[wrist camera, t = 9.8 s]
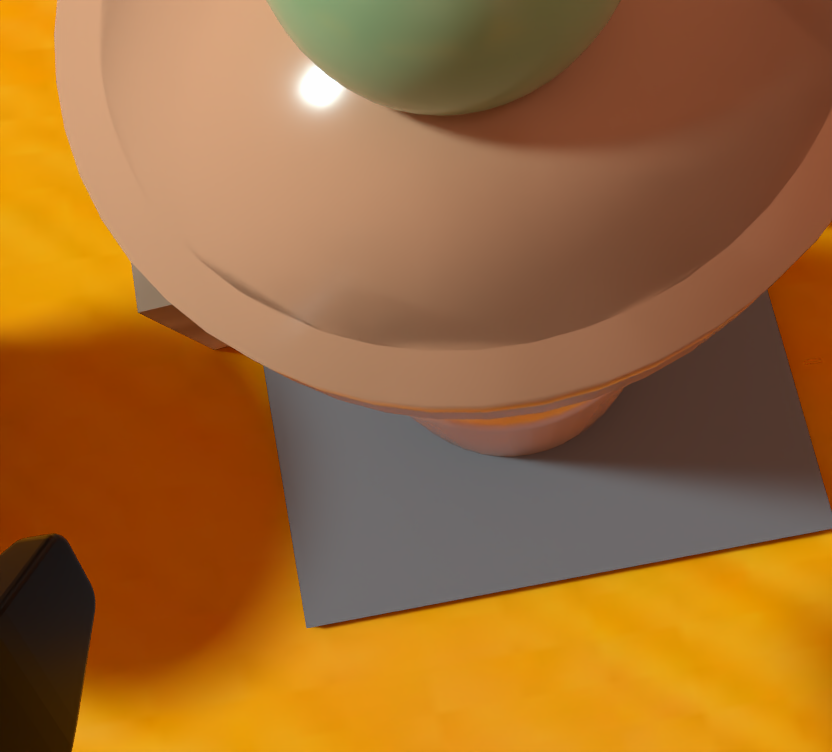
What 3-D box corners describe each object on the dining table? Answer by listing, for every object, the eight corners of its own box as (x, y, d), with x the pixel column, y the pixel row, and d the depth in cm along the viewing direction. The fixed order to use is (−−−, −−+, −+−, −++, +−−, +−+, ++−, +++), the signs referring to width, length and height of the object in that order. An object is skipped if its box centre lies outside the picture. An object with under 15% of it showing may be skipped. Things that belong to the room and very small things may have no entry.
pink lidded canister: (710, 287, 18) (1444, -605, 4) (548, 533, 18) (625, 659, 3) (466, 145, 20) (277, -919, 5) (311, 371, 20) (-384, -55, 5)
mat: (831, 527, 18) (835, 527, 17) (310, 626, 19) (306, 627, 19) (691, 43, 20) (694, 36, 19) (233, 161, 21) (229, 156, 21)
